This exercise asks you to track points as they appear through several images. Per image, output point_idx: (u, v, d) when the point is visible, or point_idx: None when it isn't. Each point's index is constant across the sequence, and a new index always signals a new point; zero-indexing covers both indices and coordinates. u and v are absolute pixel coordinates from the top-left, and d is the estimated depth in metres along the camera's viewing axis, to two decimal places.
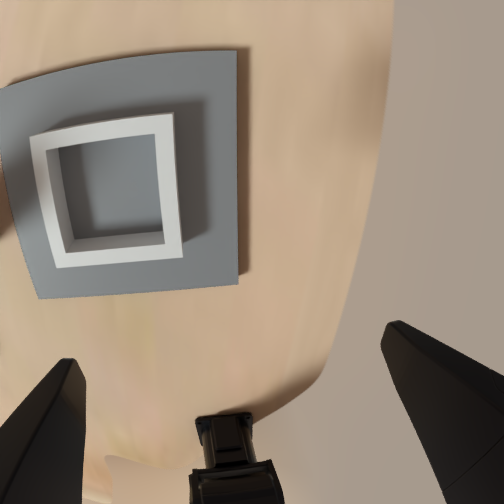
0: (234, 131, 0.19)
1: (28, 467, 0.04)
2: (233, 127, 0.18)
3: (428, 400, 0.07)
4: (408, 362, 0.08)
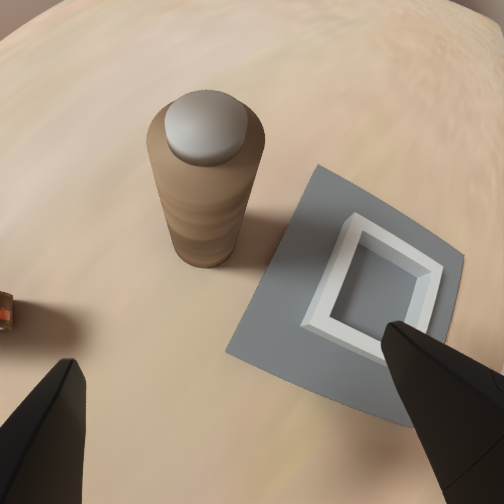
0: (453, 304, 0.23)
1: (28, 467, 0.04)
2: (453, 302, 0.23)
3: (428, 400, 0.07)
4: (408, 362, 0.08)
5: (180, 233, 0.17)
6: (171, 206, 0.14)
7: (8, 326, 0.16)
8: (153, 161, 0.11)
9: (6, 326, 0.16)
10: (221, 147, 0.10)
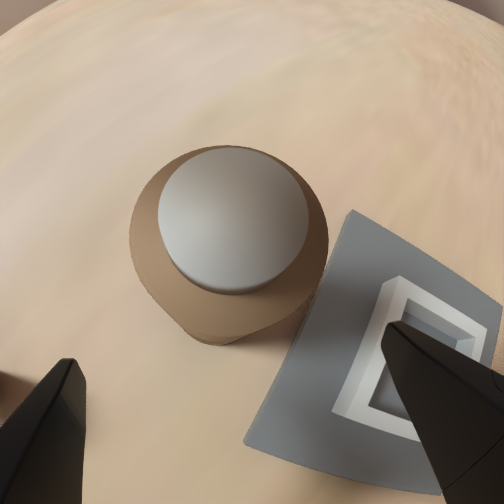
0: (490, 364, 0.19)
1: (28, 467, 0.04)
2: (490, 361, 0.19)
3: (428, 400, 0.07)
4: (408, 362, 0.08)
5: (188, 332, 0.12)
6: (177, 322, 0.09)
7: None
8: (143, 283, 0.07)
9: None
10: (266, 275, 0.06)
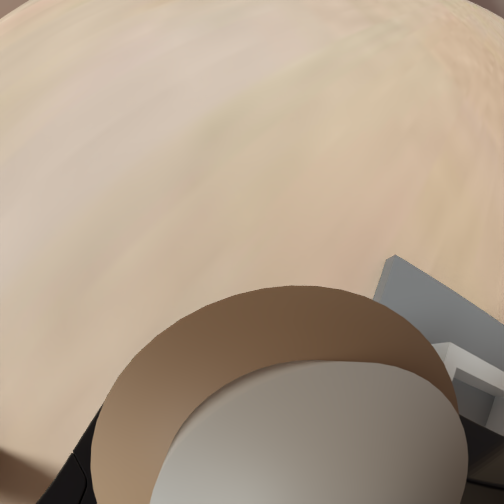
0: None
1: None
2: None
3: None
4: None
5: None
6: None
7: None
8: None
9: None
10: None
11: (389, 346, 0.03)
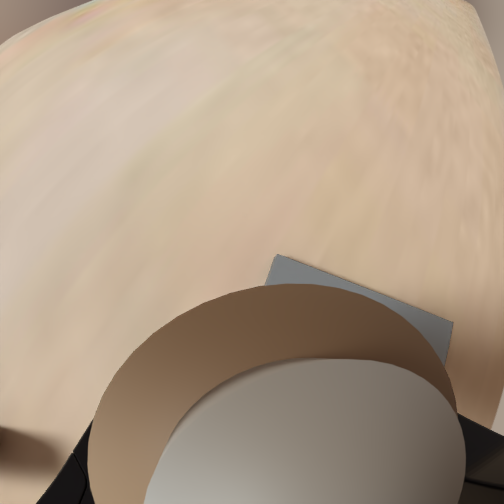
0: None
1: None
2: None
3: None
4: None
5: None
6: None
7: None
8: None
9: None
10: None
11: (386, 344, 0.03)
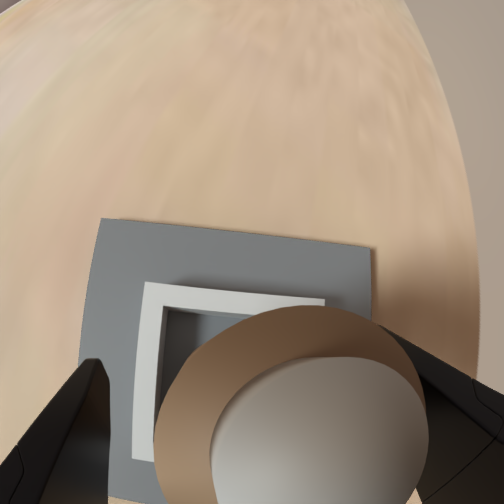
0: None
1: (58, 472, 0.04)
2: None
3: None
4: None
5: None
6: None
7: None
8: None
9: None
10: None
11: (370, 348, 0.05)
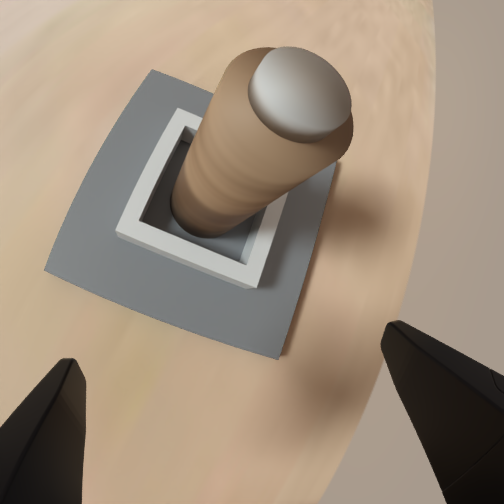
0: (321, 211, 0.23)
1: (28, 467, 0.04)
2: (321, 208, 0.23)
3: (428, 400, 0.07)
4: (408, 362, 0.08)
5: (198, 196, 0.14)
6: (212, 166, 0.11)
7: None
8: (226, 108, 0.08)
9: None
10: (321, 126, 0.08)
11: None
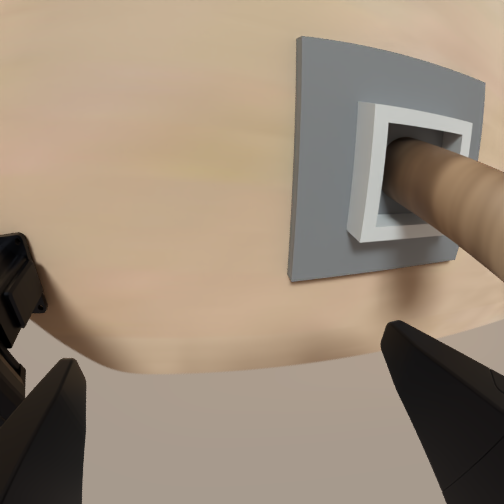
0: (415, 264, 0.24)
1: (28, 467, 0.04)
2: (417, 263, 0.24)
3: (428, 400, 0.07)
4: (408, 362, 0.08)
5: (440, 180, 0.14)
6: (484, 198, 0.11)
7: None
8: None
9: None
10: None
11: None
